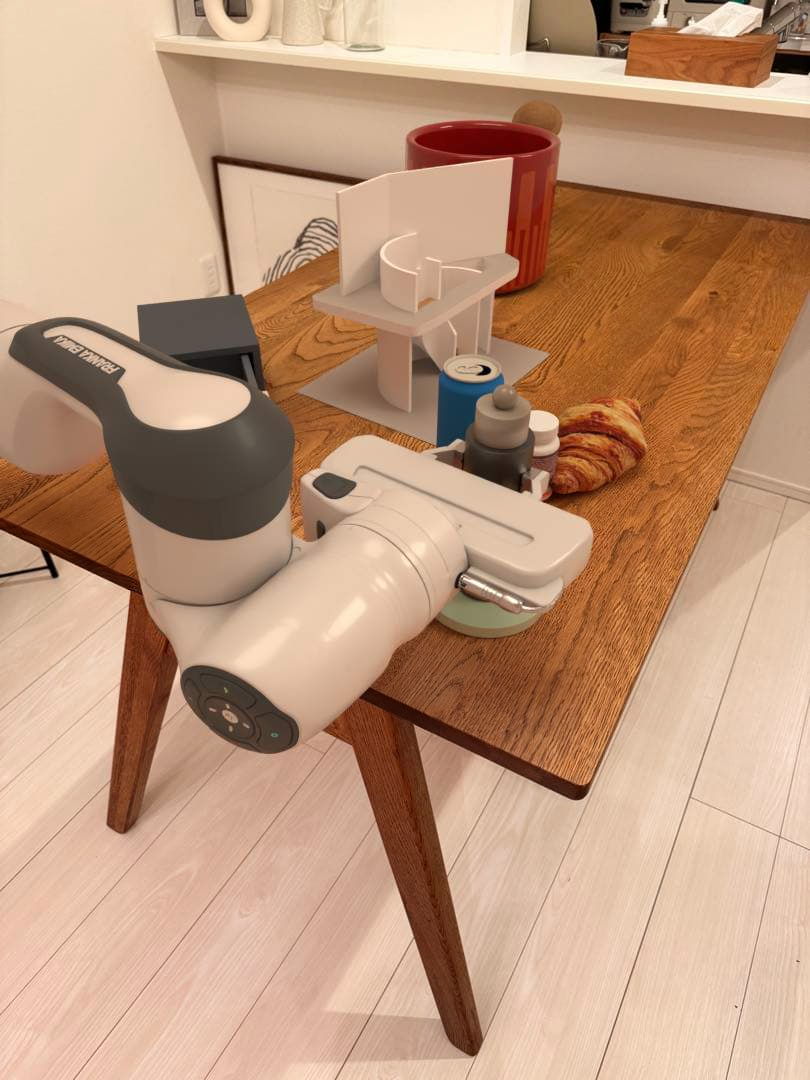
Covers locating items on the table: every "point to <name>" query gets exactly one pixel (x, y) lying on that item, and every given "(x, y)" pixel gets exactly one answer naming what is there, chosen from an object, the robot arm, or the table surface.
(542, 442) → the pill bottle
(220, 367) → the drawer
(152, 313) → the cabinet
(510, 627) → the disc
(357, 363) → the architectural model
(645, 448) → the croissant
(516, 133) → the planter
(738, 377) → the table surface
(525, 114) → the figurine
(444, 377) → the beverage can
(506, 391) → the pepper mill
